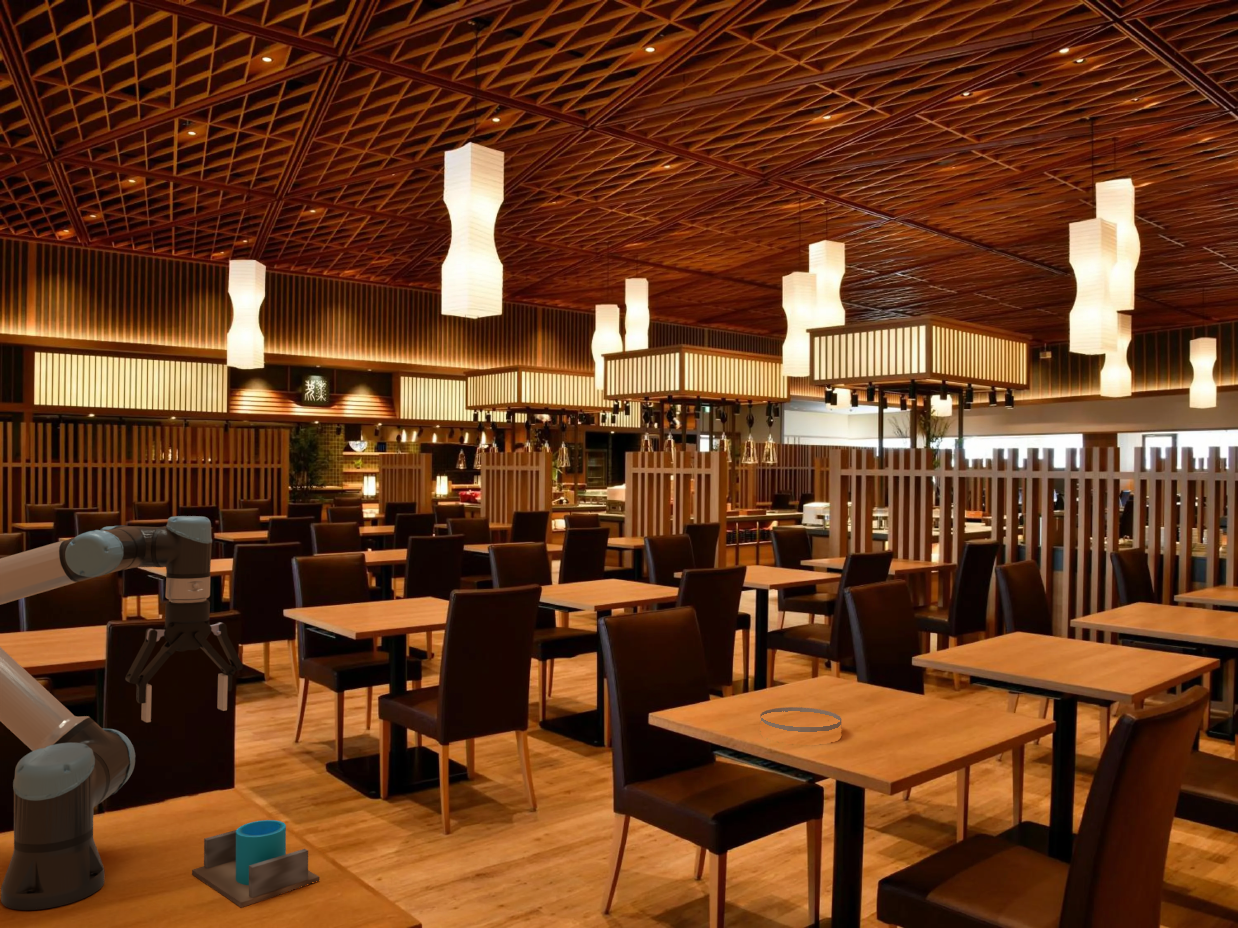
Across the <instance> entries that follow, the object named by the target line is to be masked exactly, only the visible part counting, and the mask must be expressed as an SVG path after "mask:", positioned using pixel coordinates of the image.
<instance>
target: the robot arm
mask: <svg viewBox="0 0 1238 928" xmlns="http://www.w3.org/2000/svg"><path fill="white" fill-rule="evenodd" d="M212 545H213V539H212V523H211V520H210V519H209V518H208V517H206V516H202V515H201V516H200V515H199V516H196V515H192V516H191V515H188V516H187V515H180V516H179V515H178V516H177V515H175V516H170V517H168V519H167V523H166V525H164V526H139V525H138V526H135V525H134V526H132V525H130V526H129V525H121V524H120V525H114V526H104V527H102V528H100V530H99V529H95V530H89V531H86V532H83V533H80V534H78V535H76V536H75V537H71V538H68V539H66V540H65V539H64V540H61V541H57V542H53V543H50V544H46V545H43V546H39V547H36V548H33V549H29V550H26V551H25V550H24V551H22V552H19V553H15V554H12V555H8V556H5V557H1V558H0V605H4V604H7V603H11V602H14V601H17V600H20V599H24V598H27V597H31V596H35V595H37V594H41V593H45V592H49V591H51V590H54V589H58V588H62V587H64V586H69V585H72V584H75V583H79V582H85V581H87V580H91V579H94V578H96V577H101V576H104V575H108V574H111V573H115V572H120V571H126V570H128V569H135V568H165V570H166V573H165V577H166V578H165V579H166V581H165V598H166V599H167V600H168V601H166V603H165V609H164V610H165V611H164V614H165V615H164V627H163V629H154V628H146V630H145V634H144V635H145V636H144V637H145V638H144V642H143V643H142V646H141V647H140V649H139V651H138V652H137V654H136V657H135V658H134V660H133V662H132V664H131V666H130V668H128V669H129V670H128V672H127V673H126V675H125V681H126V682H128V683H129V684H134V685H135V686H136V692H135V694H136V695H135V696H136V697H135V698H136V699H135V700H136V702H137V703H138V704H140V705H141V716H140V717H141V719H140V720H141V721H143V722H144V723H151V722H152V720H151V719H152V690H153V689H152V685H151V684H150V683H149V682H150V680H152V678H153V677H155V675H156V673H158V671H159V670H160V669H161V668H162V666H163V665H164V664H165V662H166V661H167V660H168V659H169V658H170V657H171V656H172V655H173V654H175V652H176V651H177V652H180V653H181V652H186V651H198V650H199V649H201V650H202V651H203V652H204V653H205V654H206V656H208V657H209V659H210V660H211V661H212V662H213V663H214V664H215V665H216V666H217V667H218V669H220V671H221V672H222V673H218V676H217V702H216V703H217V709H218V710H220V711H223V712H224V711H227V710H228V693H229V692H232V690H233V676H234V675H236V672H237V671H241V670H243V669H244V665H243V663H242V661H241V658H240V657H239V655H238V653H237V651H236V649H235V646H234V645H233V644H232V641H231V639H230V637H229V635H228V628H227V627H228V626H227V624H226V623H224V622H220V621H218V622H216V623H215V624H210V613H211V612H210V609H211V608H210V607H211V606H210V605H211V602H210V601H209V599H208V598H210V596H211V564H212V563H211V560H212ZM211 633H213V635H214V636H216V637H217V639H218V641H219V644H220V646H221V648H222V650H223V652H224V654H225V656H226V657H227V659H228V662H227V661H226V660H225V659H224V658H223V657H222V655H220V653H219V652H218V651H217V649H215V648H214V647H213V645H212V644H211V643H210V642H209V640H207V639H208V637H209V636H210V634H211ZM162 637H163V638H164V639H165V642H164V644H163V645H162V646H161V647H160V650H159V651H158V652H157V653H156V654H155V656H153V657H154V658H152V659H151V661H150V662H149V663H148V664H147V661H148V660H149V658H150V656H151V654H152V652H153V650H154V648H155V647H156V643H157V642H159V641H160V639H161V638H162ZM146 664H147V666H145V665H146ZM144 667H145V668H144ZM0 722H1V723H2V724H3V726H5V727H6V728H7V729H8V730H10V732H11V733H13V734H14V735H15V737H17V738H18V739H19V740H20V741H21V742H22V743H23V744H24V745H25V746H27V748H29V749H30V750H31V751H30V752H29V753H27V754H26V755H24V756H22V758H21V759H19V760H18V762H17V764H16V765H15V770H14V779H13V780H12V781H13V782H12V787H13V788H12V789H13V853H12V856H11V859H10V862H9V865H8V868H7V870H6V872H5V875H4V877H3V878H4V879H3V881H2V884H1V888H0V890H1V892H0V895H1V896H0V902H1V904H2V905H3V906H4V907H6V908H9V909H12V910H17V911H18V910H19V911H36V910H46V909H52V908H57V907H61V906H66V905H70V904H72V903H75V902H78V901H81V900H83V899H85V898H88V897H90V896H92V895H93V894H95V893H97V892H98V891H99V890H101V888H102V887H103V886H104V885H105V867H104V864H103V860H102V858H101V856H100V853H99V851H98V850H99V849H98V848H97V845H96V842H95V840H94V808H95V807H97V806H98V805H100V804H101V803H102V802H103V801H105V800H106V799H107V798H109V797H111V796H113V795H115V794H116V793H118V791H119V790H120V789H121V788H123V786H124V785H125V784H126V783H127V782H128V780H129V779H130V777H131V775H132V774H133V772H134V769H135V765H136V752H135V747H134V745H133V744H132V742H131V740H130V739H129V738H128V736H127V735H125V734H124V733H123V732H121V731H119V730H117V729H113V728H102V727H101V726H100V725H99V724H98V723H97V722H96V721H95V720H94V719H93V718H92V717H90V716H89V715H88V716H87V715H86V716H85V715H84V716H76V715H74V714H73V713H72V712H71V711H70V710H69V709H68V707H66V706H65V705H64V704H62V703H61V702H60V701H59V700H58V699H57V698H56V697H55V696H54V695H53V694H52V693H50V691H49V690H47V689H46V688H45V687H44V686H43V685H42V684H41V683H40V682H38V680H37V679H36V678H35V677H34V676H32V674H30V673H29V672H28V671H27V670H26V669H25V668H24V667H22V666H21V665H20V664H19V663H18V662H17V661H16V660H15V659H14V658H13V657H12V656H11V655H10V654H9V653H8V652H7V651H5V649H3V648H2V647H1V646H0Z"/></svg>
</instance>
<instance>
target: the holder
mask: <svg viewBox="0 0 1238 928" xmlns="http://www.w3.org/2000/svg"><path fill="white" fill-rule="evenodd" d="M236 830H237V829H234V830H230V831H228V832H223V833H220V834H216V835H213V836H209V837H205V838H204V839H203V848H204V849H203V866H200V867H196V868H193V869H191V875H192V876H194V877H195V878H197V879H198V880H200V881H201V882H203V883H204V884H205V885H207V886H208V887H210V888H212V889H213V890H215V892H218V894H220V895H222V896H224V897H225V898H226V899H228V900H230V901H231V902H232V903H234V904H235V905H236V906H238V907H240V908H244V907H246V906H249V905H253V904H256V903H259V902H262V901H265V900H268V899H271V898H273V897H277V896H280V895H283V894H286V893H288V892H287V891H289V892H292V891H294V890H293V889H295V890H297V889H296V888H298V889H300V888H299V887H301V886H304V887H306V886H305V885H307V884H310V883H312V882H316V881H319V880H321V879H320V876H319V875H317V874H315V873H313V872H312V871H311V870H309V850H308V849H306V848H302V849H299V850H296V851H293V852H289V853H286V855H282V856H279V857H276V858H272V859H269V860H266V861H263V862H259V863H256V864H253V865H249V885H243V884H240V883H238V882H237V881H236ZM319 882H320V881H319ZM316 883H317V882H316ZM310 885H311V884H310ZM307 886H308V885H307ZM301 888H302V887H301ZM291 890H292V891H291ZM285 892H286V893H285ZM282 893H283V894H282ZM279 894H280V895H279ZM276 895H277V896H276Z"/></svg>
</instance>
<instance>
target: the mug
mask: <svg viewBox="0 0 1238 928" xmlns="http://www.w3.org/2000/svg"><path fill="white" fill-rule="evenodd" d="M235 830H236V881H237V882H238V883H240V884H243V885H249V865H253V864H256V863H259V862H263V861H266V860H269V859H272V858H276V857H279V856H282V855H286V854H287V849H286V848H287V825H286V824H285V822H283V821H281V820H275V819H265V820H256V821H251V822H248V823H244V824H243V825H241V826H239V827H238V828H237V829H235Z"/></svg>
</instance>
